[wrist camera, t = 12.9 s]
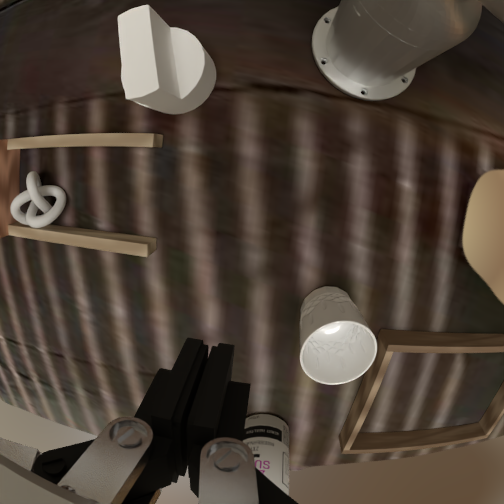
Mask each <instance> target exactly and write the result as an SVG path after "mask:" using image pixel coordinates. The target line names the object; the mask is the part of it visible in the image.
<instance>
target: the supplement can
mask: <svg viewBox="0 0 504 504" xmlns="http://www.w3.org/2000/svg"><path fill="white" fill-rule="evenodd" d="M243 442H244V443H245V444H247V445H248V446H249V447H250V449H251V450H252V452H253V455H254V461H255V467H256V468H257V469H258V470H259V471H260V472H262V473H263V474H264V475H265V476H266V477H267V478H268V479H269V480H271V481H272V482H273V483H274V484H275V485H276V486H278V487H279V488H280V489H281V490H282V491H283V492H285V493H286V494H287V495H288V496H289V428H288V426H287V424H286V423H285V422H284V421H283V420H281V419H280V418H278V417H276V416H272V415H269V414H258V415H253V416H250V417H248V418H246V421H245V428H244V436H243Z"/></svg>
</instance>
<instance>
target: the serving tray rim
mask: <svg viewBox="0 0 504 504" xmlns="http://www.w3.org/2000/svg"><path fill="white" fill-rule="evenodd" d="M376 342H377V353H376V357H375V359H374V361H373V363H372V365H371V366H370V368H369V369H368V370H367V371H366V372H365V375H364V378H363V380H362V383H361V385H360V388H359V390H358V393H357V395H356V398H355V400H354V403H353V405H352V408H351V410H350V412H349V415H348V417H347V419H346V422H345V424H344V426H343V428H342V431H341V433H340V435H339V440H340V447H341V453H342V454H357V453H381V452H396V451H407V450H417V449H425V448H433V447H440V446H447V445H453V444H458V443H464V442H469V441H474V440H479V439H483V438H487V437H488V435H489V434H490V433H491V431H492V430H493V428H494V427H495V425H496V424H497V423H498V421H499V420H500V418H501V417H502V415H503V413H504V381H503V383H502V385H501V387H500V388H499V390H498V392H497V394H496V395H495V397H494V399H493V400H492V402H491V404H490V405H489V407H488V409H487V410H486V412H485V413H484V415H483V417H482V418H481V420H480V421H479V422H478V423H472V424H466V425H459V426H452V427H444V428H436V429H426V430H415V431H401V432H380V433H358V432H359V430H360V428H361V426H362V424H363V422H364V420H365V418H366V416H367V413H368V411H369V409H370V407H371V405H372V403H373V400H374V398H375V396H376V393H377V391H378V389H379V386H380V384H381V382H382V379H383V377H384V374H385V372H386V369H387V367H388V364H389V362H390V359H391V357H392V354H393V352H414V353H488V352H504V334H473V333H442V332H421V331H404V330H389V329H380V332H379V335H378V338H377V341H376Z"/></svg>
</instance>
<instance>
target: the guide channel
mask: <svg viewBox="0 0 504 504" xmlns="http://www.w3.org/2000/svg"><path fill="white" fill-rule="evenodd" d="M162 143H163V135H160V134H149V133H97V134H69V135H52V136H38V137H27V138H16V139H6V140H0V238H2V237H5V236H7V235H12V236H18V237H24V238H30V239H36V240H42V241H48V242H54V243H60V244H66V245H73V246H79V247H85V248H91V249H98V250H104V251H111V252H117V253H124V254H130V255H137V256H144V257H148V256H149V255H150V254H152V253H153V252H154V251H155V250H156V240H157V238H152V237H145V236H137V235H129V234H121V233H114V232H106V231H98V230H90V229H83V228H75V227H67V226H59V225H51V224H48V225H46V226H44V227H41V228H33V227H31V226H29V225H25V224H22V223H20V222H18V221H17V220H16V219H15V218H14V217H13V216H12V214H11V209H10V208H11V203H12V201H13V200H14V198H15V197H16V196H18V195H19V170H20V149H25V148H43V147H70V146H132V147H161V148H162Z"/></svg>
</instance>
